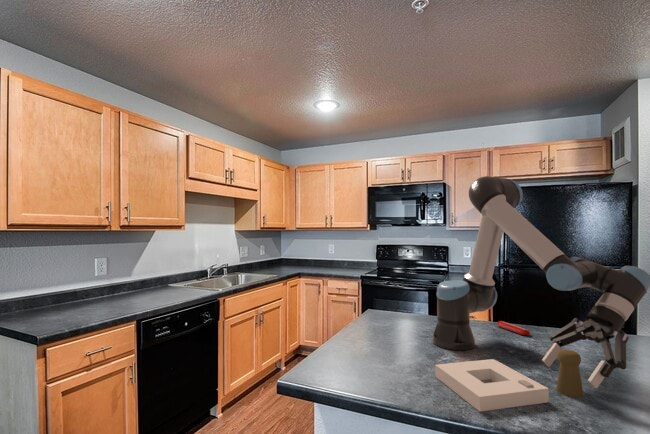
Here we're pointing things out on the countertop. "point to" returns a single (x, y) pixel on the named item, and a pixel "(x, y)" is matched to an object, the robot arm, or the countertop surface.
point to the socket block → (491, 384)
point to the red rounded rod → (513, 328)
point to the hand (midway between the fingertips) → (567, 373)
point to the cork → (569, 374)
